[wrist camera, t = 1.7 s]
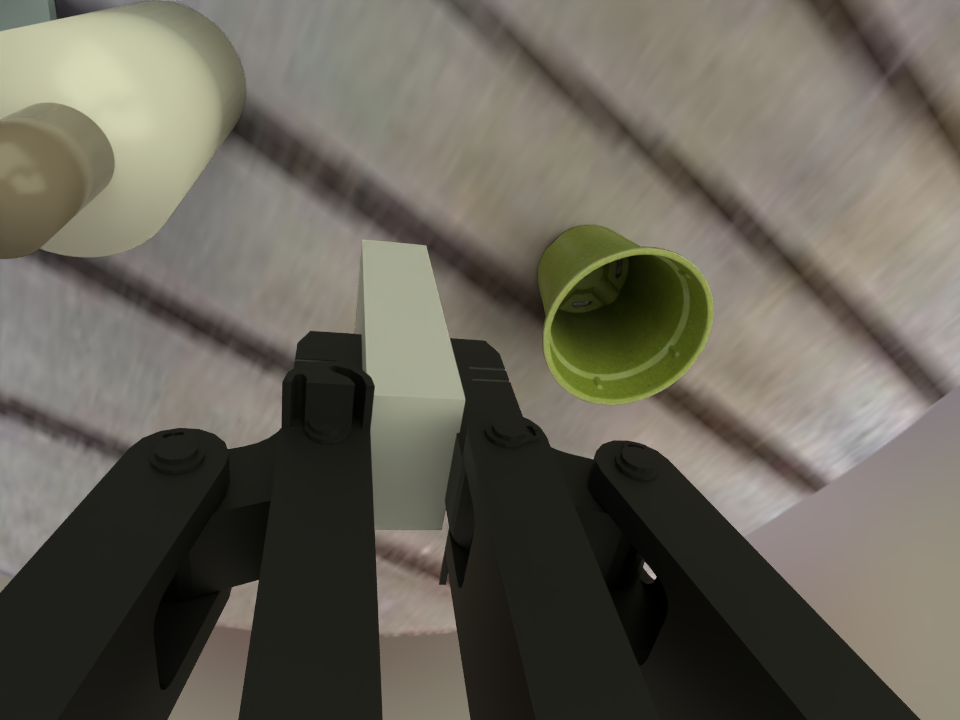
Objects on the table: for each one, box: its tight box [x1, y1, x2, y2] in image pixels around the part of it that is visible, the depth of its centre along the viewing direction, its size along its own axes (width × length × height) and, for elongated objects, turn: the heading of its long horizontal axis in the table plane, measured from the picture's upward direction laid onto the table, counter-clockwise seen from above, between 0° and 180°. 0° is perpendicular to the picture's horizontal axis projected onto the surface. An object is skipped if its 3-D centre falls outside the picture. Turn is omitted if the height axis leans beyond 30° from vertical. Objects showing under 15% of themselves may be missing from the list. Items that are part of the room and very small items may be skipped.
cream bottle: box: [0, 0, 246, 259], centre depth 25 cm, size 7×7×20 cm
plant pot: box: [537, 225, 714, 405], centre depth 39 cm, size 9×9×9 cm
